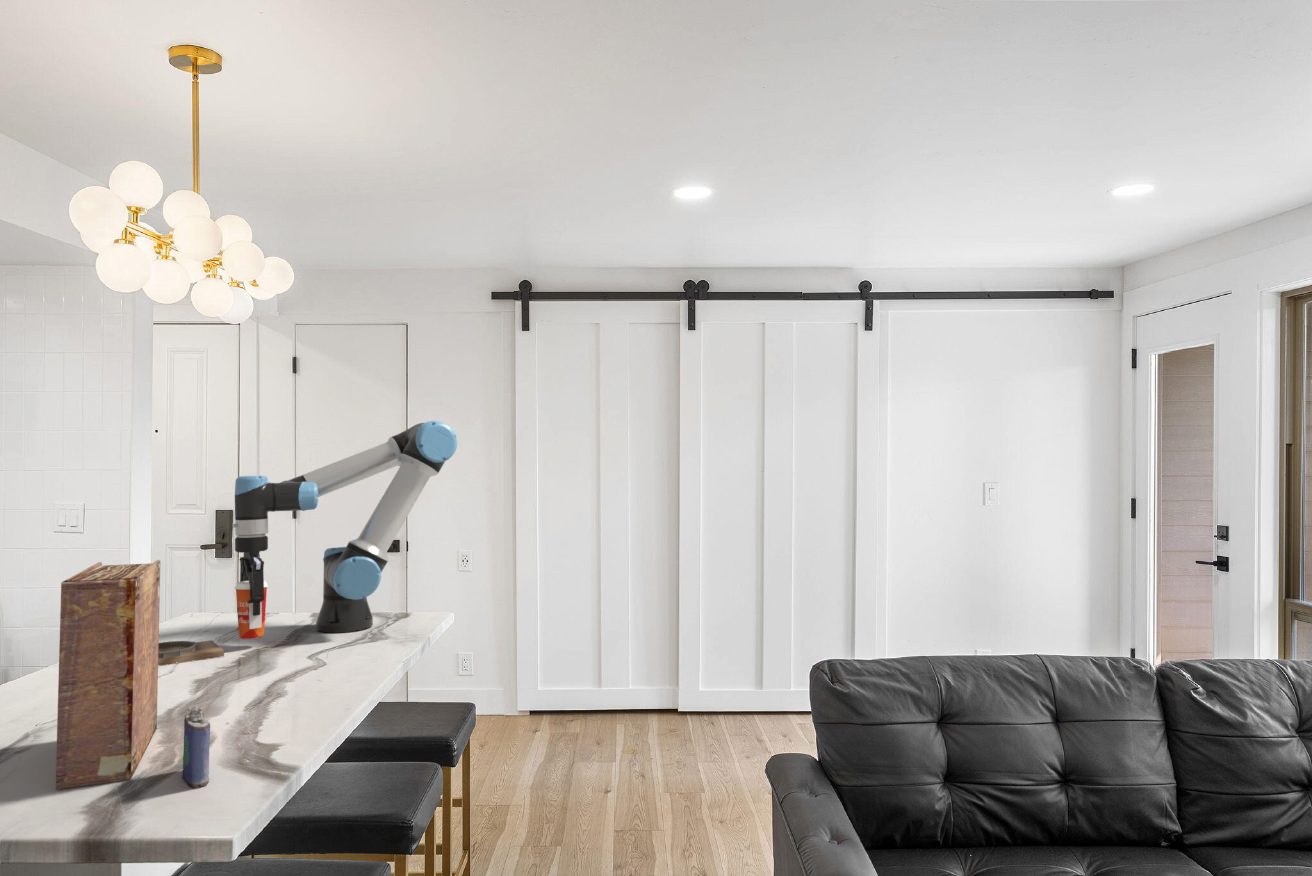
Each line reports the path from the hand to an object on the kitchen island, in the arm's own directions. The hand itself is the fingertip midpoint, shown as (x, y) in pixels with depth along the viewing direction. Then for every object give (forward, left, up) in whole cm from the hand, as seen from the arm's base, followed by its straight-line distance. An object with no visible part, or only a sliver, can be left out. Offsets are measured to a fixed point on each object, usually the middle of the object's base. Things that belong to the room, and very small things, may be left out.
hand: (251, 625), depth 199 cm
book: (+36, +66, -6) cm, 76 cm away
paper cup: (0, 0, -3) cm, 3 cm away
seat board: (+18, -1, -6) cm, 19 cm away
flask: (+27, +85, -6) cm, 89 cm away
